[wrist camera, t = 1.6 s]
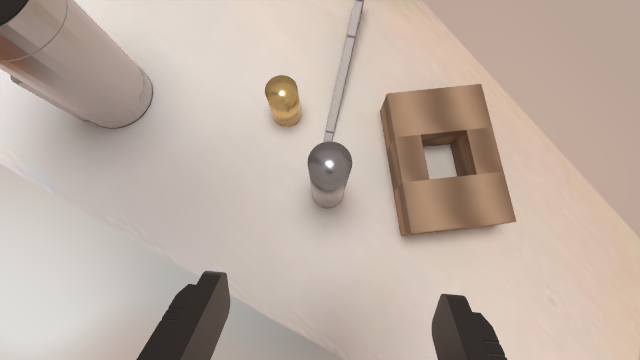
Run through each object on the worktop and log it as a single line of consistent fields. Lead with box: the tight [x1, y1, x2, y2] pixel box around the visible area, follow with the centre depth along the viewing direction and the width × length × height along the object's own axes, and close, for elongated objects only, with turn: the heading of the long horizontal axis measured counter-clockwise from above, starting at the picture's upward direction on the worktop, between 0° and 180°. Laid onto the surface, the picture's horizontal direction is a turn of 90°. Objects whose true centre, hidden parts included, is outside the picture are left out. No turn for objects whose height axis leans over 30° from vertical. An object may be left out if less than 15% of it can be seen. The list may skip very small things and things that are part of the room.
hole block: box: [380, 84, 516, 236], centre depth 36 cm, size 11×16×4 cm
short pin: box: [265, 75, 301, 127], centre depth 37 cm, size 4×4×6 cm
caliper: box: [324, 0, 364, 142], centre depth 39 cm, size 20×1×6 cm, turn 167°
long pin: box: [308, 142, 352, 208], centre depth 32 cm, size 4×4×13 cm
